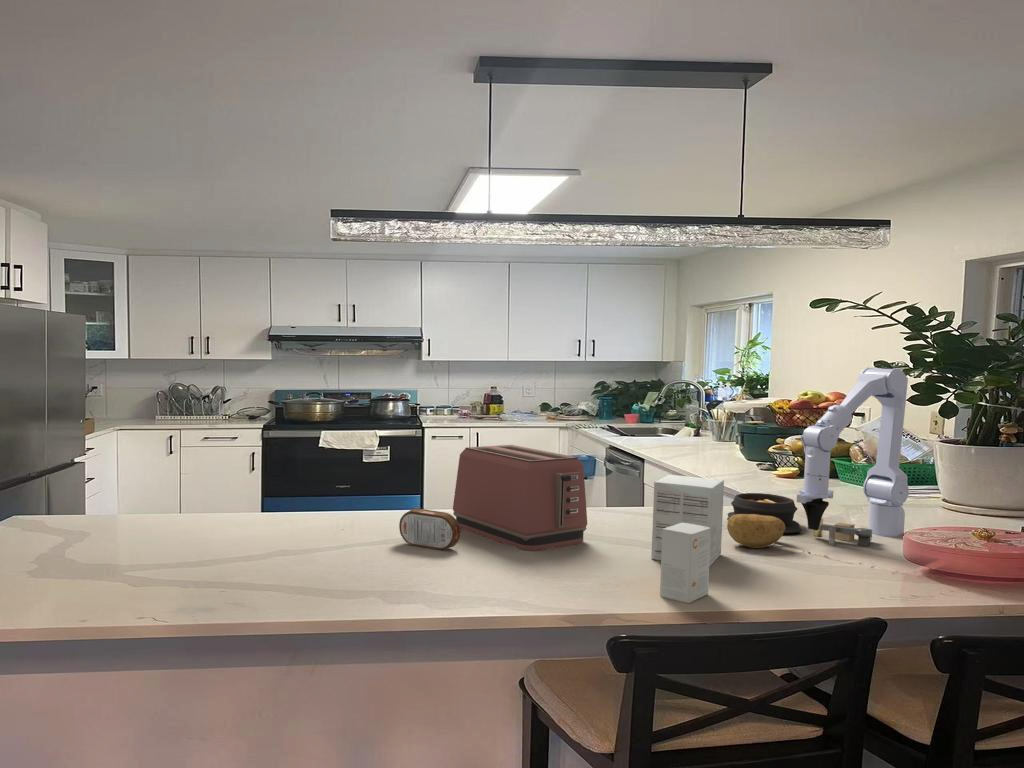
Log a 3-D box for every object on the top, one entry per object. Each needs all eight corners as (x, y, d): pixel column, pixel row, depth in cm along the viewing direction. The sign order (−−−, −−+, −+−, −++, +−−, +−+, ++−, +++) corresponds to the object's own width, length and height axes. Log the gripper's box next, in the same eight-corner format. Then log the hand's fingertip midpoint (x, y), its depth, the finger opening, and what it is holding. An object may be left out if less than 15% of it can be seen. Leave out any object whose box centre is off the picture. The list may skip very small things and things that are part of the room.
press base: (825, 534, 206) (826, 513, 206) (902, 550, 192) (903, 527, 191) (794, 542, 196) (795, 521, 195) (873, 560, 181) (874, 536, 181)
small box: (679, 587, 155) (681, 521, 155) (709, 594, 151) (712, 527, 151) (658, 596, 149) (661, 528, 149) (689, 604, 145) (692, 533, 144)
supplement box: (665, 547, 188) (668, 473, 187) (721, 554, 182) (725, 479, 181) (649, 559, 176) (652, 481, 175) (709, 568, 170) (712, 487, 169)
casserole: (819, 540, 200) (821, 507, 200) (750, 540, 197) (751, 507, 197) (773, 518, 225) (775, 489, 224) (711, 518, 222) (712, 489, 222)
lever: (817, 532, 201) (818, 514, 201) (874, 540, 194) (875, 522, 194) (811, 537, 195) (812, 519, 195) (870, 545, 188) (871, 527, 188)
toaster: (532, 555, 177) (535, 464, 176) (450, 525, 204) (452, 446, 203) (594, 544, 188) (598, 459, 188) (509, 517, 215) (511, 443, 214)
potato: (792, 552, 186) (793, 519, 186) (734, 551, 185) (735, 518, 185) (775, 542, 196) (776, 510, 195) (719, 541, 195) (721, 509, 194)
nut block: (839, 536, 200) (839, 522, 200) (854, 538, 197) (854, 524, 197) (834, 538, 197) (834, 524, 197) (849, 541, 194) (849, 526, 194)
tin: (460, 550, 179) (461, 513, 178) (453, 553, 176) (454, 515, 175) (404, 541, 185) (405, 505, 185) (396, 544, 182) (397, 508, 182)
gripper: (815, 470, 202) (812, 523, 203) (786, 474, 193) (783, 529, 193) (842, 474, 197) (839, 528, 197) (813, 478, 187) (810, 535, 188)
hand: (813, 529), depth 195 cm, fingers closed
